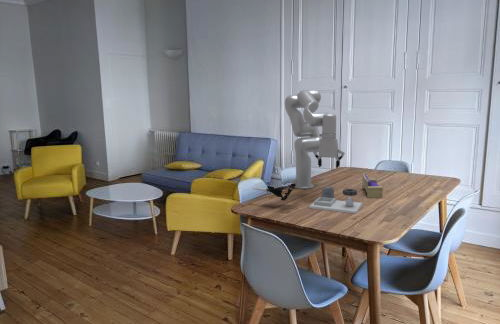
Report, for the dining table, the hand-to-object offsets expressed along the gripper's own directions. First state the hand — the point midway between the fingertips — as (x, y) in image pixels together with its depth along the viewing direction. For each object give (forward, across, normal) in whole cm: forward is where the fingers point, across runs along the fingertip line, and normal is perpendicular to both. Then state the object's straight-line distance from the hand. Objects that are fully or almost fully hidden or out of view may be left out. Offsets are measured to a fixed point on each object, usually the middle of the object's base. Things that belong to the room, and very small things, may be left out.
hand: (328, 167), depth 214 cm
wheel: (+11, +15, -13) cm, 23 cm away
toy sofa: (+19, +20, +22) cm, 35 cm away
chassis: (+18, +8, -13) cm, 24 cm away
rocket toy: (+19, -24, -24) cm, 39 cm away
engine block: (+18, 0, 0) cm, 18 cm away
